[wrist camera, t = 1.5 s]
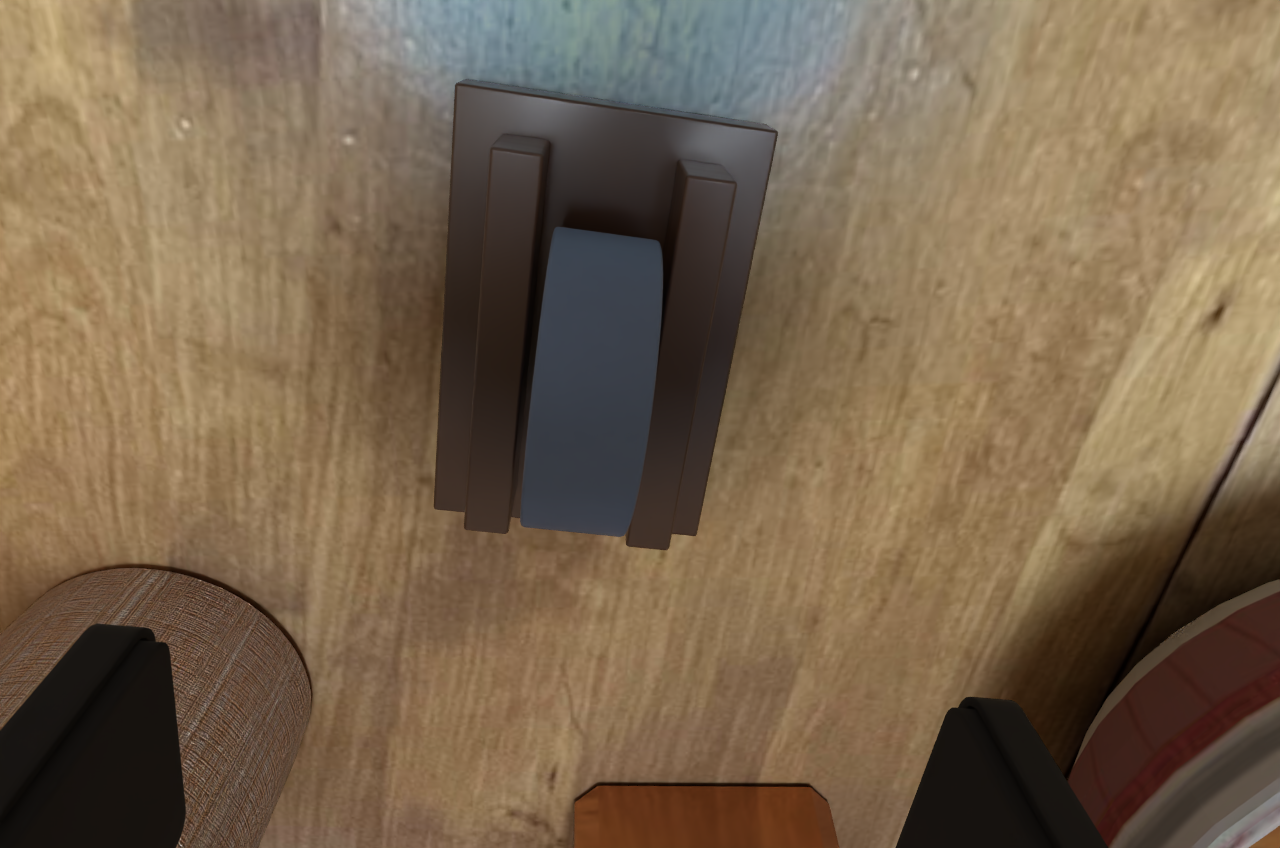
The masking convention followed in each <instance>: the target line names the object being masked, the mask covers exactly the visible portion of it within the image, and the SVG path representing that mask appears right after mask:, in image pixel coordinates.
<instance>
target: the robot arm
mask: <svg viewBox="0 0 1280 848" xmlns="http://www.w3.org/2000/svg"><path fill="white" fill-rule="evenodd" d="M185 816H186V805H185V795H184V785H183V775H182V766H181V756H180V746H179V736H178V726H177V716H176V706H175V697H174V687H173V677H172V667H171V657H170V650H169V646H168V645H167V643H164V642H156V639H155V635H154V633H153V631H152V630H151V629H149V628H145V627H133V626H121V625H109V624H94V625H92V626H90V627H89V628H88V629H87V630H86V631H85V632H84V633H83V634H82V635H81V636H80V637H79V639H78V640H77V641H76V642H75V643H74V644H73V646H72V647H71V648H70V649H69V650H68V651H67V653H66V654H65V655H64V656H63V657H62V658H61V660H60V661H59V662H58V663H57V664H56V666H55V667H54V668H53V669H52V670H51V671H50V673H49V674H48V675H47V676H46V677H45V678H44V680H43V681H42V682H41V683H40V684H39V686H38V687H37V688H36V689H35V690H34V691H33V693H32V694H31V695H30V696H29V697H28V698H27V700H26V701H25V702H24V703H23V704H22V706H21V707H20V708H19V709H18V710H17V711H16V713H15V714H14V715H13V716H12V717H11V718H10V720H9V721H8V722H7V723H6V724H5V725H4V727H3V728H2V729H1V730H0V848H176V846H177V844H178V842H179V840H180V837H181V834H182V831H183V827H184V823H185ZM896 848H1108V846H1107V844H1106V843H1105V841H1104V840H1103V838H1102V836H1101V835H1100V833H1099V832H1098V830H1097V828H1096V827H1095V825H1094V824H1093V822H1092V820H1091V819H1090V817H1089V816H1088V814H1087V812H1086V811H1085V809H1084V808H1083V806H1082V804H1081V803H1080V801H1079V800H1078V798H1077V796H1076V795H1075V793H1074V791H1073V790H1072V788H1071V787H1070V785H1069V783H1068V782H1067V780H1066V779H1065V777H1064V775H1063V774H1062V772H1061V771H1060V769H1059V767H1058V766H1057V764H1056V763H1055V761H1054V759H1053V758H1052V756H1051V755H1050V753H1049V751H1048V750H1047V748H1046V747H1045V745H1044V743H1043V742H1042V740H1041V738H1040V737H1039V735H1038V734H1037V732H1036V730H1035V729H1034V727H1033V726H1032V724H1031V722H1030V721H1029V719H1028V718H1027V716H1026V714H1025V713H1024V711H1023V710H1022V708H1021V707H1020V706H1019V705H1018V704H1017V703H1016V702H1014V701H1012V700H1002V699H990V698H978V697H966V698H965V699H964V700H963V701H962V702H961V703H960V705H959V707H958V708H951V709H950V710H948V712H947V714H946V716H945V718H944V721H943V724H942V726H941V729H940V732H939V734H938V737H937V740H936V742H935V745H934V747H933V750H932V753H931V755H930V758H929V761H928V763H927V766H926V769H925V771H924V774H923V777H922V779H921V782H920V785H919V787H918V790H917V793H916V795H915V798H914V800H913V803H912V806H911V808H910V811H909V814H908V816H907V819H906V822H905V824H904V827H903V830H902V832H901V835H900V838H899V840H898V843H897V845H896Z"/></svg>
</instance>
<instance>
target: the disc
mask: <svg viewBox="0 0 1280 848" xmlns="http://www.w3.org/2000/svg"><path fill="white" fill-rule="evenodd" d="M662 297H663V258H662V250H661V246H660V243H659V241H657V240H653V239H645V238H638V237H631V236H623V235H616V234H609V233H601V232H594V231H587V230H579V229H572V228H565V227H555V229H554V232H553V235H552V240H551V246H550V252H549V258H548V265H547V272H546V279H545V286H544V293H543V301H542V309H541V316H540V324H539V332H538V341H537V349H536V357H535V366H534V375H533V383H532V392H531V401H530V411H529V420H528V430H527V440H526V450H525V460H524V471H523V483H522V495H521V511H520V522H521V525H522V526H523V527H529V528H539V529H549V530H558V531H568V532H578V533H588V534H597V535H607V536H617V537H621V536H624V535H625V534H626V532H627V530H628V528H629V526H630V523H631V520H632V517H633V513H634V509H635V505H636V501H637V497H638V492H639V487H640V482H641V477H642V472H643V466H644V460H645V454H646V448H647V442H648V435H649V429H650V421H651V414H652V407H653V399H654V391H655V382H656V373H657V364H658V353H659V342H660V330H661V316H662Z"/></svg>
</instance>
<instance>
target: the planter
mask: <svg viewBox="0 0 1280 848" xmlns="http://www.w3.org/2000/svg"><path fill="white" fill-rule="evenodd" d="M94 624H109V625H121V626H133V627H145V628H149V629H151V630H152V631H153V633H154V635H155V639H156V642H164V643H167V645H168V646H169V650H170V657H171V667H172V677H173V687H174V697H175V706H176V716H177V726H178V736H179V746H180V756H181V766H182V775H183V785H184V795H185V805H186V816H185V823H184V827H183V831H182V834H181V837H180V840H179V842H178V844H177V846H176V848H258V847H259V845H260V842H261V840H262V838H263V835H264V833H265V830H266V828H267V826H268V823H269V821H270V818H271V816H272V814H273V811H274V809H275V806H276V804H277V802H278V799H279V797H280V794H281V792H282V790H283V787H284V785H285V782H286V780H287V778H288V775H289V773H290V770H291V768H292V766H293V763H294V761H295V758H296V756H297V753H298V750H299V747H300V744H301V742H302V739H303V736H304V733H305V730H306V727H307V724H308V720H309V716H310V708H311V693H310V686H309V681H308V677H307V674H306V672H305V669H304V666H303V664H302V662H301V660H300V658H299V656H298V654H297V652H296V651H295V649H294V648H293V646H292V645H291V643H290V642H289V641H288V639H287V638H286V637H285V635H284V634H283V633H282V632H281V631H280V630H279V629H278V628H277V626H276V625H274V624H273V623H272V622H271V621H270V620H269V619H268V618H267V617H266V616H265V615H263V614H262V613H261V612H260V611H258V610H257V609H256V608H254V607H253V606H251V605H250V604H248V603H247V602H245V601H244V600H242V599H241V598H239V597H237V596H236V595H234V594H232V593H230V592H228V591H226V590H224V589H222V588H220V587H218V586H215V585H213V584H210V583H208V582H205V581H202V580H199V579H196V578H193V577H190V576H186V575H183V574H178V573H173V572H168V571H161V570H153V569H141V568H123V569H112V570H104V571H98V572H93V573H89V574H85V575H82V576H79V577H76V578H73V579H71V580H69V581H66V582H64V583H62V584H60V585H58V586H56V587H55V588H53V589H51V590H50V591H48V592H47V593H45V594H44V595H43V596H42V597H40V598H39V599H38V600H37V601H36V602H35V603H34V604H32V605H31V606H30V607H29V608H28V609H27V610H26V611H25V612H24V613H22V614H21V615H20V616H19V617H18V618H17V619H16V620H15V621H13V622H12V623H11V624H10V625H9V626H8V627H7V628H6V629H5V630H4V631H3V632H2V633H1V634H0V730H1V729H2V728H3V727H4V725H5V724H6V723H7V722H8V721H9V720H10V718H11V717H12V716H13V715H14V714H15V713H16V711H17V710H18V709H19V708H20V707H21V706H22V704H23V703H24V702H25V701H26V700H27V698H28V697H29V696H30V695H31V694H32V693H33V691H34V690H35V689H36V688H37V687H38V686H39V684H40V683H41V682H42V681H43V680H44V678H45V677H46V676H47V675H48V674H49V673H50V671H51V670H52V669H53V668H54V667H55V666H56V664H57V663H58V662H59V661H60V660H61V658H62V657H63V656H64V655H65V654H66V653H67V651H68V650H69V649H70V648H71V647H72V646H73V644H74V643H75V642H76V641H77V640H78V639H79V637H80V636H81V635H82V634H83V633H84V632H85V631H86V630H87V629H88V628H89V627H90V626H92V625H94Z"/></svg>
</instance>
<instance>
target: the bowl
mask: <svg viewBox="0 0 1280 848" xmlns="http://www.w3.org/2000/svg"><path fill="white" fill-rule="evenodd" d="M1068 783H1069V785H1070V787H1071V788H1072V790H1073V791H1074V793H1075V795H1076V796H1077V798H1078V800H1079V801H1080V803H1081V804H1082V806H1083V808H1084V809H1085V811H1086V812H1087V814H1088V816H1089V817H1090V819H1091V820H1092V822H1093V824H1094V825H1095V827H1096V828H1097V830H1098V832H1099V833H1100V835H1101V836H1102V838H1103V840H1104V841H1105V843H1106V844H1107V846H1108V848H1280V579H1278V580H1275V581H1272V582H1268V583H1266V584H1264V585H1261V586H1259V587H1257V588H1255V589H1252V590H1250V591H1248V592H1246V593H1244V594H1241V595H1239V596H1237V597H1235V598H1233V599H1230V600H1228V601H1226V602H1224V603H1222V604H1219V605H1217V606H1216V607H1214V608H1213V609H1211V610H1209V611H1208V612H1206V613H1205V614H1203V615H1201V616H1200V617H1198V618H1197V619H1195V620H1193V621H1192V622H1190V623H1189V624H1187V625H1185V626H1184V627H1182V628H1181V629H1179V630H1177V631H1176V632H1174V633H1173V634H1172V635H1171V636H1170V637H1168V638H1167V639H1166V640H1165V641H1164V642H1162V643H1161V644H1160V645H1159V646H1158V647H1156V648H1155V649H1154V650H1153V651H1152V652H1150V653H1149V654H1148V655H1147V656H1146V657H1144V658H1143V659H1142V660H1141V661H1140V662H1138V663H1137V664H1136V665H1135V667H1134V668H1133V669H1132V670H1131V671H1130V672H1129V673H1128V675H1127V676H1126V677H1125V678H1124V679H1123V680H1122V681H1121V683H1120V684H1119V685H1118V686H1117V687H1116V688H1115V689H1114V691H1113V692H1112V693H1111V694H1110V695H1109V696H1108V697H1107V699H1106V701H1105V702H1104V704H1103V706H1102V707H1101V709H1100V711H1099V712H1098V714H1097V716H1096V717H1095V719H1094V720H1093V722H1092V724H1091V725H1090V727H1089V729H1088V730H1087V732H1086V735H1085V737H1084V740H1083V742H1082V745H1081V748H1080V750H1079V753H1078V755H1077V758H1076V760H1075V763H1074V766H1073V768H1072V771H1071V774H1070V777H1069V780H1068Z"/></svg>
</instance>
